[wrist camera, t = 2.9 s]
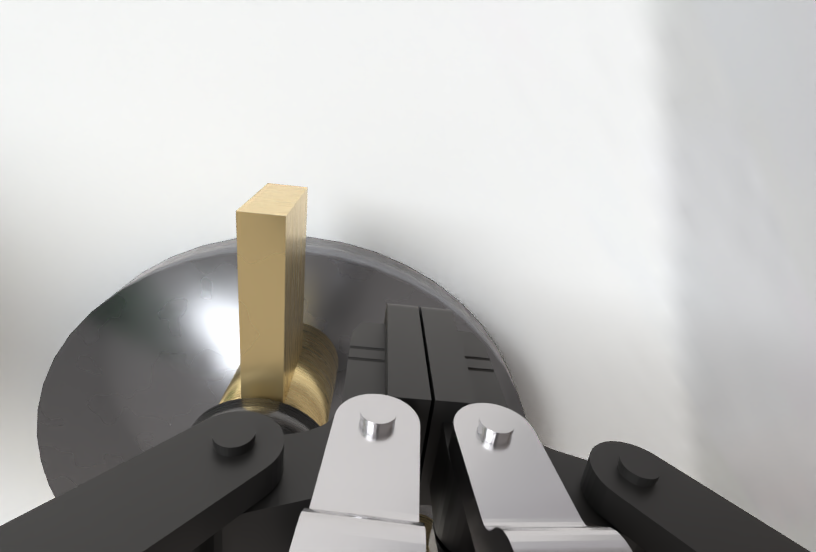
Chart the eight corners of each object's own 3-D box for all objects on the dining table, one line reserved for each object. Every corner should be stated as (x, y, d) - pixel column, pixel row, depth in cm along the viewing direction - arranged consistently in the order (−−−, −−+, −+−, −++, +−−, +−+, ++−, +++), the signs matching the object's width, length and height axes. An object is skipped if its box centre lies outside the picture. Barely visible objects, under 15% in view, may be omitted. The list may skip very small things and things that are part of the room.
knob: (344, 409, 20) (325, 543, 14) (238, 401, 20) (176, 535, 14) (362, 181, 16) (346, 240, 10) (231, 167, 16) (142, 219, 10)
